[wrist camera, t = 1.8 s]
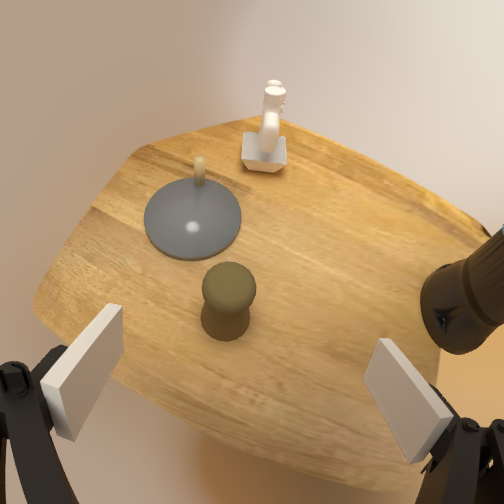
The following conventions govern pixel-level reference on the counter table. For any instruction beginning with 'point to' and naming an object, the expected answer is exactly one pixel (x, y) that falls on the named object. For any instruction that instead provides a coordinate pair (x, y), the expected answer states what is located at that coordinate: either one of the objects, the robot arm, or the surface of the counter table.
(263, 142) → the figurine
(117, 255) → the counter table surface
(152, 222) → the coaster plate
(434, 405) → the robot arm
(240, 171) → the counter table surface
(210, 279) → the brown rounded upright piece
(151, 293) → the counter table surface
